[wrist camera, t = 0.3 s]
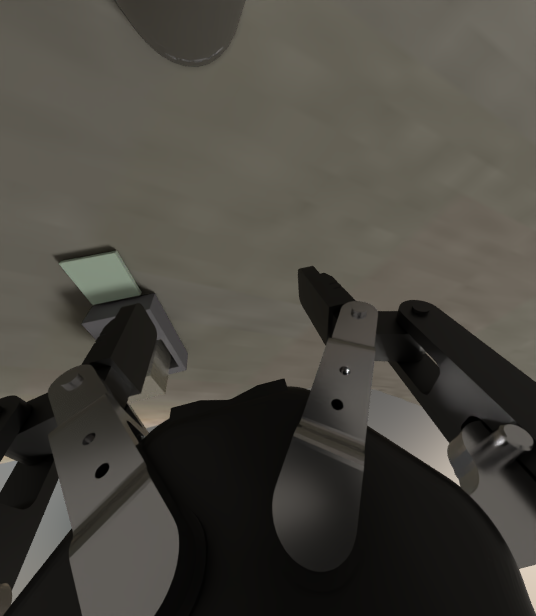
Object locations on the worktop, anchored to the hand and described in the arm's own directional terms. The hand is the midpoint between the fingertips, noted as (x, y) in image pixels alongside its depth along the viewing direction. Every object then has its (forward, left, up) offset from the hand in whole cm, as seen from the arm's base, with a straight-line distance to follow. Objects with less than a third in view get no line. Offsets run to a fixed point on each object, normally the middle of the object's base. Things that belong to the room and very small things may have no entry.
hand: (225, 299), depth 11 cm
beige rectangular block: (+17, -15, -17) cm, 28 cm away
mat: (+5, -15, -18) cm, 24 cm away
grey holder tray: (+15, -15, -18) cm, 28 cm away
